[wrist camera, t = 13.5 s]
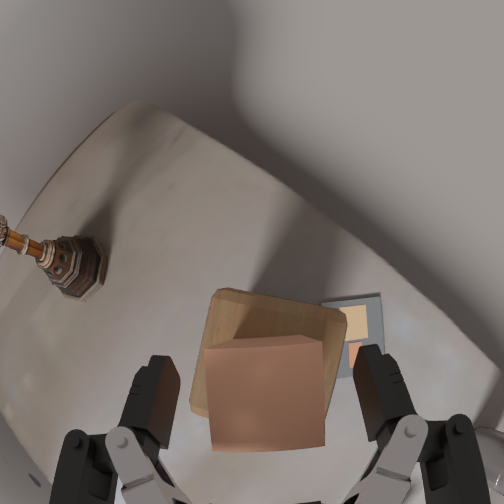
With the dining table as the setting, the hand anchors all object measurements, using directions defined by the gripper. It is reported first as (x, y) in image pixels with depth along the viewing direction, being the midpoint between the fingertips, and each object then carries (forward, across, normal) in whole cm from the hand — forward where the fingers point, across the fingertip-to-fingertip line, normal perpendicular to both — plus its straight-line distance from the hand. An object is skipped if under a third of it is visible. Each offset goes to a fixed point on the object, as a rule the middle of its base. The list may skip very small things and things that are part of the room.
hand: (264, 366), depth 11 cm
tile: (+18, -12, +20) cm, 29 cm away
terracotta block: (+4, 0, +6) cm, 7 cm away
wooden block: (+18, 0, +20) cm, 27 cm away
